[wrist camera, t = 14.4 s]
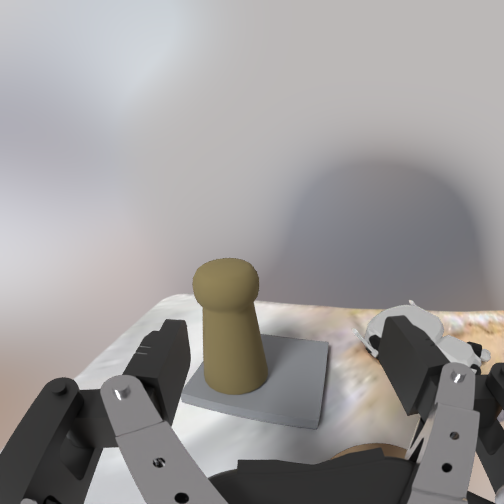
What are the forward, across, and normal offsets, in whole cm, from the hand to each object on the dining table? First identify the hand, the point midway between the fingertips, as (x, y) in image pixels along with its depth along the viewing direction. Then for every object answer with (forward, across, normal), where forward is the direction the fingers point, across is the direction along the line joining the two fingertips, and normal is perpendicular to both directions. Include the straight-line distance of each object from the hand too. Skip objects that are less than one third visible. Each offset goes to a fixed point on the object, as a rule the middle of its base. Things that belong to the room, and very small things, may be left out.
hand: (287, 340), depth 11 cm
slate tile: (+13, +1, +13) cm, 19 cm away
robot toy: (+13, -17, +14) cm, 26 cm away
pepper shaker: (+12, +3, +12) cm, 17 cm away
